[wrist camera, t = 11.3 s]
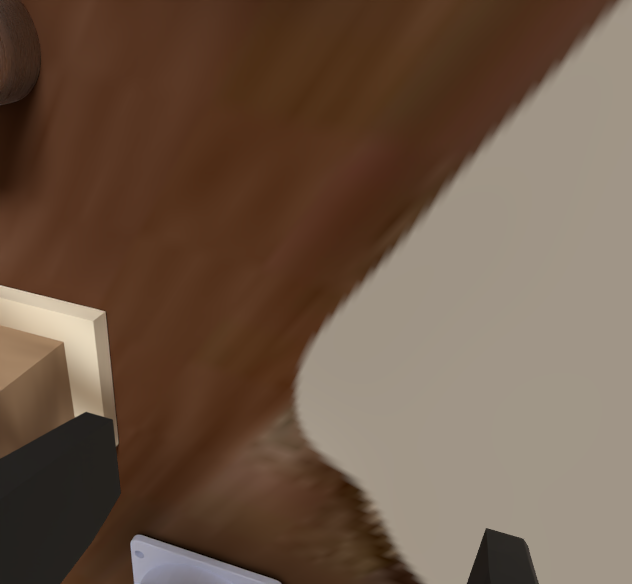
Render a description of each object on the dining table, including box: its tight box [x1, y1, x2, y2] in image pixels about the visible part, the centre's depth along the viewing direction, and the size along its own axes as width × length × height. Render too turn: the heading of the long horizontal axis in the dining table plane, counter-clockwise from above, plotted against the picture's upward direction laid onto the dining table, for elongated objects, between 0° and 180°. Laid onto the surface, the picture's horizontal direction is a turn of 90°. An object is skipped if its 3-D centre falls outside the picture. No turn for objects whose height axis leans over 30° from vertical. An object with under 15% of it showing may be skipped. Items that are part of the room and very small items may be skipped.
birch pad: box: [0, 285, 119, 446], centre depth 24 cm, size 7×7×1 cm
